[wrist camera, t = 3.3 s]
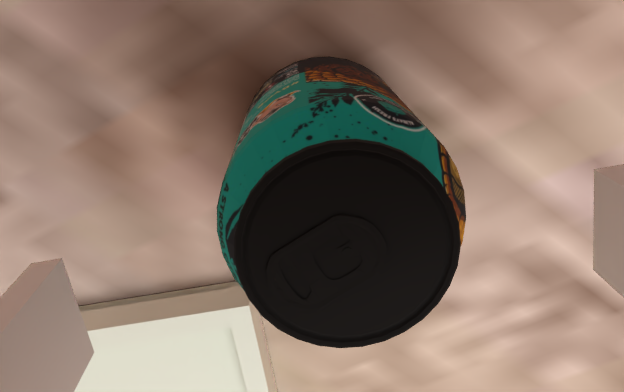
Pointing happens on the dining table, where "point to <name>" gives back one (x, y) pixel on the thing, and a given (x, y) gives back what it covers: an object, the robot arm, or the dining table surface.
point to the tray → (178, 343)
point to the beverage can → (339, 207)
